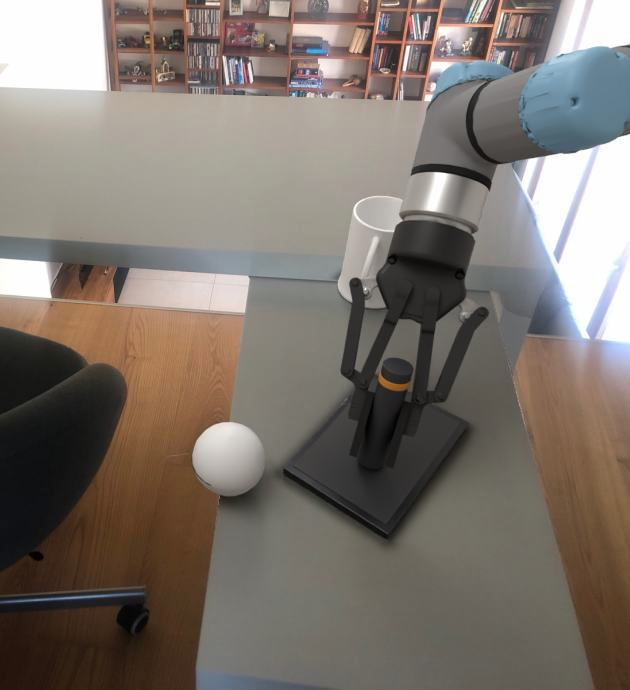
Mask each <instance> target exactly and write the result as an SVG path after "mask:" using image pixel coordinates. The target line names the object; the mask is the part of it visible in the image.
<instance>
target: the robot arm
mask: <svg viewBox="0 0 630 690" xmlns="http://www.w3.org/2000/svg"><path fill="white" fill-rule="evenodd" d="M425 110H426V111H425V117H424V121H423V125H422V129H421V132H420V136H419V140H418V144H417V148H416V152H415V155H414V160H413V162H412V163H413V164H412V167H411V170H410V171H411V172H410V174H409V175H410V176H409V177H408V180H407V183H406V187H405V190H404V194H403V197H402V200H403V201H402V205H401V208H400V212H399V216H400V218H401V219H402V220H403V221H402V222H400V223H399V224H397V225H396V227H395V230H394V234H393V237H392V241H391V244H390V248H389V251H388V255H387V259H386V262H385V264H384V265H383V267H382V268H381V269H380V270H379V271H378V272H377V275H376V276H372V277H367V278H363V279H359V278H357V277H356V278H352V279H351V280H350V282H349V286H350V292H351V297H352V303H351V307H350V312H349V317H348V323H347V329H346V336H345V341H344V348H343V353H342V358H341V365H340V374H341V376H343V377H344V378H345V379H347V380H348V381H350V382H351V383H352V384H353V386H354V389H353V391H354V394H353V397H352V401H351V405H350V408H349V412H348V416H349V419H352V420H355V421H358V425H357V428H356V432H355V435H354V439H353V442H352V446H351V449H350V453H349V455H350V456H353V457H357V455H358V451H359V448H360V444H361V441H362V437H363V433H364V430H365V426H366V423H367V419H368V416H369V412H370V408H371V405H372V401H373V398H374V394H375V392H371V391H368V388H369V385H370V383H371V381H372V378H373V376H374V374H376V372H377V370H378V368H379V365H380V362H381V361H382V358H383V357H384V353H385V351H386V349H387V348H388V344H389V343H390V340H391V338H392V335H393V334H394V332H395V329H396V327H397V325H398V323H399V320H410V321H413V322H415V323H417V324H419V325H420V327H419V338H418V345H417V352H416V354H417V355H416V361H415V367H414V376H413V383H412V392H411V393H412V398H411V402H407V401H404V402H403V405H402V408H401V411H400V414H399V418H398V421H397V424H396V427H395V431H394V434H393V437H392V440H391V444H390V447H389V451H388V455H387V458H386V462H385V466H386V467H389V468H394V464H395V461H396V457H397V454H398V450H399V446H400V443H401V439H402V436H403V434H404V435H407V436H411V437H413V436H414V435H415V434H416V432H417V429H418V425H419V422H420V418H421V414H422V411H423V408H424V407H425V406H426V405H427V404H430V403H432V404H444V403H445V402H447V400H448V398H449V396H450V393H451V391H452V388H453V386H454V383H455V381H456V378H457V376H458V373H459V372H460V369H461V366H462V363H463V361H464V358H465V356H466V353H467V351H468V348H469V346H470V344H471V341H472V340H473V339H472V338H473V336H474V334H475V332H476V330H477V329H478V328H479V327H480V326H481V325H482V324H483V323H484V321H485V320H486V319H487V318H488V317H489V315H490V312H489V309H488V308H487V307H486V306H480V305H478V304H477V303H476V302H475V301H473V300H472V299H471V298H469V297H468V296H467V295H468V294H467V293H468V292H467V291H468V290H467V286H466V281H465V280H466V276H467V273H468V269H469V266H470V262H471V259H472V255H473V251H474V248H475V244H476V240H475V238H474V236H473V235H474V234H475V233H478V231H479V230H480V228H481V224H482V220H483V217H484V212H485V210H486V206H487V202H488V199H489V195H490V192H491V189H492V184H493V179H494V176H495V173H496V170H497V167H498V165H499V166H500V165H505V164H511V163H514V162H515V163H516V162H519V161H525V160H532V159H538V158H543V157H550V156H555V155H559V154H563V155H570V154H577V153H578V152H580V151H585V150H590V149H593V148H595V147H598V146H602V145H605V144H609V143H611V142H613V141H615V140H617V139H618V138H621V137H625V136H629V135H630V43H629V44H625V45H618V46H613V47H610V46H605V45H604V46H601V45H597V46H592V47H588V48H584V49H579V50H574V51H571V52H566V53H560V54H559V55H556V56H553V57H551V58H550V59H549V60H547V61H543V62H541V63H539V64H536V65H533V66H530V67H528V68H525V69H522V70H520V71H516V72H514V71H513V70H512V69H510V68H508V67H507V66H505V65H502V64H501V63H497V62H494V61H493V62H492V61H487V60H474V61H472V62H468V61H460V62H457V63H454V64H452V65H450V66H448V67H447V68H445V69H444V70H443V71H442V73H440V75H439V77H438V79H437V82H436V85H435V88H434V91H433V94H432V97H431V99H430V101H429V102H428V104H427V107H426V109H425ZM375 287H378V288H379V291H380V293H381V296H382V298H383V301H384V303H385V306H386V308H385V309H386V311H387V312H386V314H385V316H384V319H383V321H382V324H381V325H380V329H379V331H378V333H377V335H376V337H375V339H374V342H373V344H372V346H371V348H370V350H369V353H368V355H367V357H366V360H365V362H364V364H363V366H362V368H361V371H359V370H357V369H355V368H356V363H357V356H358V351H359V345H360V339H361V333H362V327H363V322H364V316H365V309H366V308H365V300H368V299H370V298H371V296H372V291H373V289H374V288H375ZM457 307H459V308H460V312H459V314H458V320H459V322H460V323H461V325H460V327H459V328H458V330H457V332H456V334H455V337H454V340H453V342H452V344H451V347H450V349H449V352H448V355H447V357H446V360H445V362H444V364H443V366H442V367H443V368H442V369H441V372H440V374H439V377H438V380H437V383H436V385H435V386H434V390H429V389H428V388H429V387H428V386H429V380H430V372H431V363H432V358H433V357H432V356H433V348H434V341H435V339H434V338H435V333H436V327H437V322H438V321H441V319H443V318H444V317H445V316H447V315H448V314H449V313H451V312H452V311H453V310H454V309H456V308H457Z"/></svg>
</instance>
